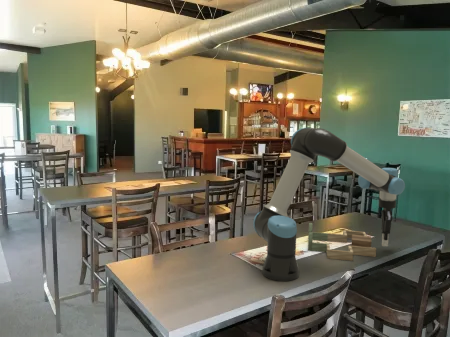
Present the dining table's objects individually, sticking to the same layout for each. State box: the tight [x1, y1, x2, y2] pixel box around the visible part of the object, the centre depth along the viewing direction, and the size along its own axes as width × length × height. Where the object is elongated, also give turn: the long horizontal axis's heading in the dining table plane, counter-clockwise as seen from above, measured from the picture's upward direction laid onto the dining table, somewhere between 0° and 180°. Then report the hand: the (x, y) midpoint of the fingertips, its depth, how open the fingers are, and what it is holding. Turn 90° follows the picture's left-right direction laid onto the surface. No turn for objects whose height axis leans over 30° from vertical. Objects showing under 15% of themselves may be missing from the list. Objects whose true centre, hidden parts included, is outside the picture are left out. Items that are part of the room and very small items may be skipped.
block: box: [350, 235, 372, 248], centre depth 181 cm, size 9×9×6 cm
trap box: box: [307, 222, 377, 262], centre depth 183 cm, size 36×32×9 cm
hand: (384, 245), depth 179 cm, fingers closed
